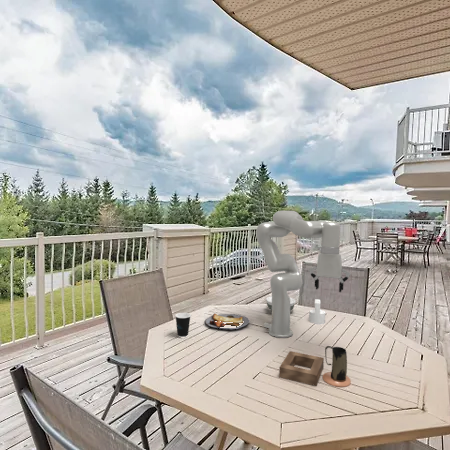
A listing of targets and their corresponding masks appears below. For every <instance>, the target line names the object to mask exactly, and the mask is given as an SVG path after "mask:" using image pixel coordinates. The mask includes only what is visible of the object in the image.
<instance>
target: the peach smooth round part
mask: <svg viewBox="0 0 450 450" xmlns="http://www.w3.org/2000/svg"><path fill="white" fill-rule="evenodd" d="M322 380H323V381H324V383H326V384H328V385H330V386H332V387H334V388H335V387H337V388H346V387H349V386H350V385H351V378H350V377H349V376H347V375H346V381H344V382H337V381H334V380H333V379H331V371H328V372H325V373H324V374H323V375H322Z"/></svg>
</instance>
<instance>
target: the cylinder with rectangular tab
mask: <svg viewBox="0 0 450 450" xmlns="http://www.w3.org/2000/svg"><path fill="white" fill-rule="evenodd" d="M308 316H309V317H308V322H309V321H310V322H309V323H311V324H313V323H314V325H324V324H325V323H326V311H325V310H322V309H321V299H318V298H317V299H316V298H315V299H314V308H313V309H309V315H308Z"/></svg>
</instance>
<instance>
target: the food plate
mask: <svg viewBox="0 0 450 450" xmlns="http://www.w3.org/2000/svg"><path fill="white" fill-rule="evenodd" d="M215 321H217V322H215ZM220 321H221V322H220ZM243 321H244V323H243ZM204 322H205V325H207V326H208V327H210V328H216V329H218V328H219V329H218V330H221V329H223V330H235V329H236V330H238V329H241V328H243V327H246V326H247V325H248V324H249V323H250V322H251V320H250V318H248V317H247V316H246V315H245V316H244V315H241V314H237V313H219V314H217V313H213V315H211V316H209V317H206V318H205V320H204ZM223 322H233V323H226V324H224V323H223ZM239 323H243V324H242V325H241V326H239V325H240V324H239ZM225 325H231V326H236V328H220V327H224V326H225ZM237 326H239V327H237Z"/></svg>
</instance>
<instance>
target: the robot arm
mask: <svg viewBox="0 0 450 450" xmlns="http://www.w3.org/2000/svg"><path fill="white" fill-rule="evenodd" d="M290 233H292V234H293V235H296V236H298V237H302V238H305V239H315V238H316V239H317V238H319V239H320V238H321V239H320V244H321V245H320V247H317V251H319V253H318V257H317V262H316V263H317V264H316V266H313V267H311V268H309V269H308V272H309V275H310V276H311V277H312V278H313V279H314V288H315V290H318V289H319V288H320V279H319V278H320V277H321V278H329V279H338V280H339V287H338V292H339V293H342V291H344V283H345V282H346V281H347V280H348V279H349V277H350V276H351V275H352V273H351V272H350V271H348V270H346V269H345V268H343V264H342V263H343V261H342V255H341V253H340V246H341V245H340V243H341V242H340V240H341V237H340V236H341V225H340V223H339V222H333V221H332V222H331V221H323V220H304V219H303V217H302V215H300V214H299V212H297V211H296V210H295V211H294V210H277V211H276V212H274V214H273V216H272V221H267V222H266V221H264V222H262V223H260V224H258V225H257V227H256V230H255V236H256V239H257V242H258V244H259V247H260V249H261V250H262V254H263V257H264V259H265V262H266V266H267V268H268V270H269V271H270V272H271V273H276V274H273V275H272V276H271V278H270V281H269V284H270V288H271V296H272V311H271V322H270V323H268V322H264V323H263V327H264V328H267V329H268V332H269V333H268V335H269V336H272V337H274V336H275V338H279V339H280V338H283V339H285V338H290V337H292V336H293V335H294V334H293V333H294V332H293V330H291V311H290V298H291V297H290V296H289V294H288V292H290V291H297V290H300V289H301V288H302V286H303V277H302V274H301V273H300V269H299V267H298V264H297V261H296V259H295V257H294V256H293V255H291V254H290V253H281V252H280V250H279V246H278V245H277V243H276V242H275V241H274V240H273V239H272V238H284V237H286V236H288V235H289V234H290ZM314 271H316V274H315V272H314ZM278 272H279V273H278ZM343 274H345V277H343V276H342V275H343ZM289 297H290V298H289Z"/></svg>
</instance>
